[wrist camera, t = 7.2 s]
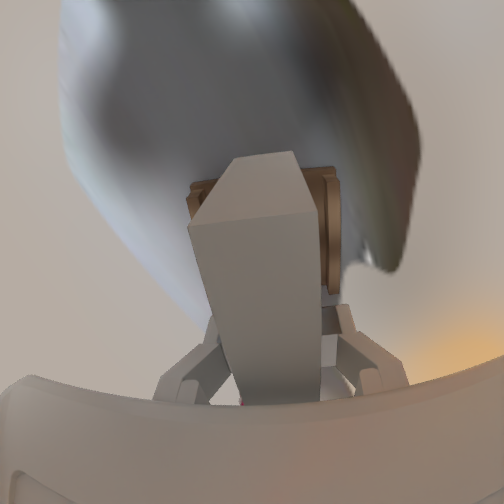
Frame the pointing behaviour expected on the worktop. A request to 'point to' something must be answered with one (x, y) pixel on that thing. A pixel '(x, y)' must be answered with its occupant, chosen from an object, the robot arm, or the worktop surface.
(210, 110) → the worktop surface
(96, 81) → the worktop surface
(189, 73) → the worktop surface
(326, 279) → the walnut rack
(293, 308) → the clay strip
